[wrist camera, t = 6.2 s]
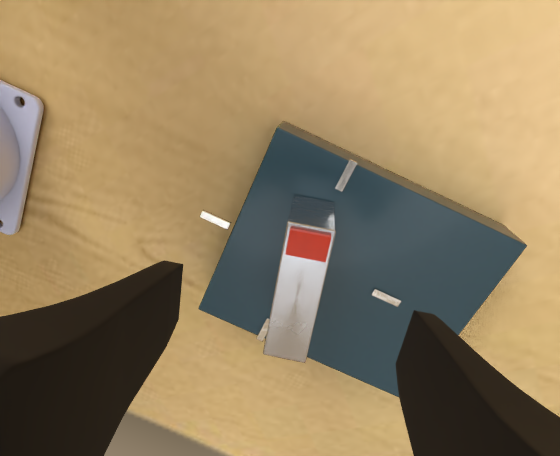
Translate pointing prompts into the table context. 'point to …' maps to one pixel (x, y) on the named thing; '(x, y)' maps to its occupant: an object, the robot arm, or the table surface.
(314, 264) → the tap handle
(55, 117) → the table surface
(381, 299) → the tap console
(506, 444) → the robot arm
